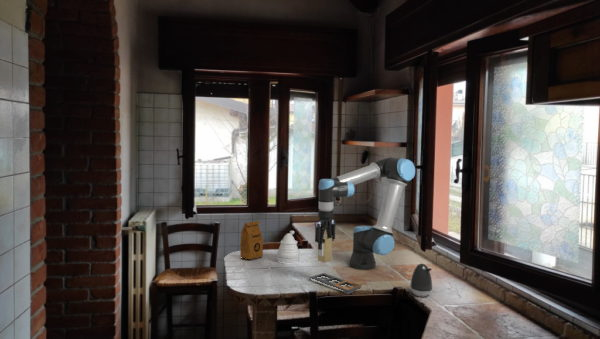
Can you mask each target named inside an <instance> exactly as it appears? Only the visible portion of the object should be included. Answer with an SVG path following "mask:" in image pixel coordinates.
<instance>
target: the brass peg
mask: <svg viewBox="0 0 600 339" xmlns="http://www.w3.org/2000/svg"><path fill="white" fill-rule="evenodd" d="M323 243H324V250H323V256H320V255H319V249H318V248H317V261H318V262H321V263H328V262H329V263H330V262H332V261H333V260H332V258H333V257H332V256H333V241H332V238H330V237H327V235H324V237H323Z"/></svg>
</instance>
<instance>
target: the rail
mask: <svg viewBox="0 0 600 339" xmlns="http://www.w3.org/2000/svg"><path fill="white" fill-rule="evenodd" d="M321 276H325V277H328V278H329V279H323V278H321V279H320V278H317V277H321ZM311 278H312V279H315V280H317V281H320V282H322V283H325V284H327V285H330V286H333V287H336V288H338V289H341V290H343V291H344V293H343V294H346V295H348V294H353V293H355V292H356V291H355V290H357V289H360V288H361V289H362V285H361V284H358V283H357V282H356V283H355V282H352V281H351V280H346V279H343V278H341V277H337V276H333V275H331V274H328V273H326V272H323V273H320V274H316V275H313V276H310V279H311ZM332 280H337V281H339V282H340V283H335V282H333V283H331V282H329V281H332ZM345 284H347V285H350V286H353V287H347V286H345V287H343V286H341V285H345ZM354 291H355V292H354Z"/></svg>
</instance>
